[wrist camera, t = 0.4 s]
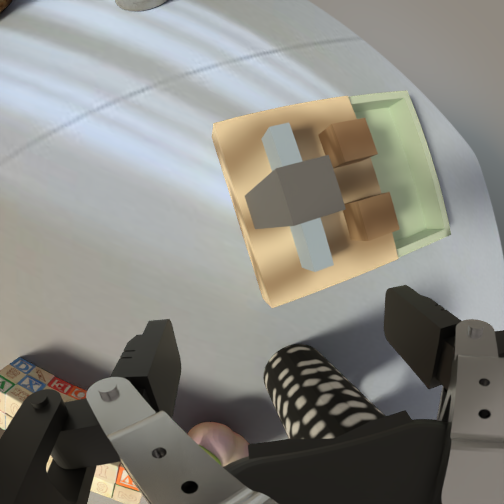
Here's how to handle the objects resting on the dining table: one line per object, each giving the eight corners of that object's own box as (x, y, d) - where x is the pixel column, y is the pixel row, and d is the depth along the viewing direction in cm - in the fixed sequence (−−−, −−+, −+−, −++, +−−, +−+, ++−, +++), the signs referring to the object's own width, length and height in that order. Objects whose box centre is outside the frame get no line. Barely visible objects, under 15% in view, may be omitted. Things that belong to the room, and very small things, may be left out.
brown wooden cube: (341, 204, 34) (357, 201, 30) (370, 195, 34) (389, 191, 30) (351, 240, 34) (368, 241, 30) (380, 229, 35) (399, 229, 31)
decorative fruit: (167, 431, 37) (161, 479, 27) (208, 396, 38) (211, 441, 28) (218, 466, 39) (224, 513, 29) (259, 434, 39) (274, 479, 29)
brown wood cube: (318, 134, 33) (332, 123, 29) (348, 128, 34) (364, 117, 30) (329, 169, 33) (345, 161, 29) (360, 161, 34) (377, 154, 30)
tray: (331, 109, 38) (345, 97, 34) (390, 101, 40) (407, 90, 35) (377, 256, 40) (396, 258, 36) (431, 234, 41) (451, 234, 37)
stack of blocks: (16, 390, 34) (-26, 429, 22) (19, 355, 34) (-28, 390, 22) (149, 449, 37) (138, 509, 25) (159, 417, 37) (149, 477, 25)
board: (211, 137, 36) (213, 123, 31) (331, 109, 38) (347, 95, 33) (263, 298, 38) (272, 308, 33) (377, 256, 40) (398, 258, 35)
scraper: (228, 147, 32) (248, 89, 18) (279, 134, 32) (327, 76, 19) (270, 278, 33) (318, 309, 19) (319, 261, 34) (391, 278, 20)
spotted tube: (337, 366, 40) (423, 446, 21) (295, 411, 40) (353, 511, 20) (294, 331, 39) (372, 409, 19) (250, 379, 39) (290, 486, 19)
